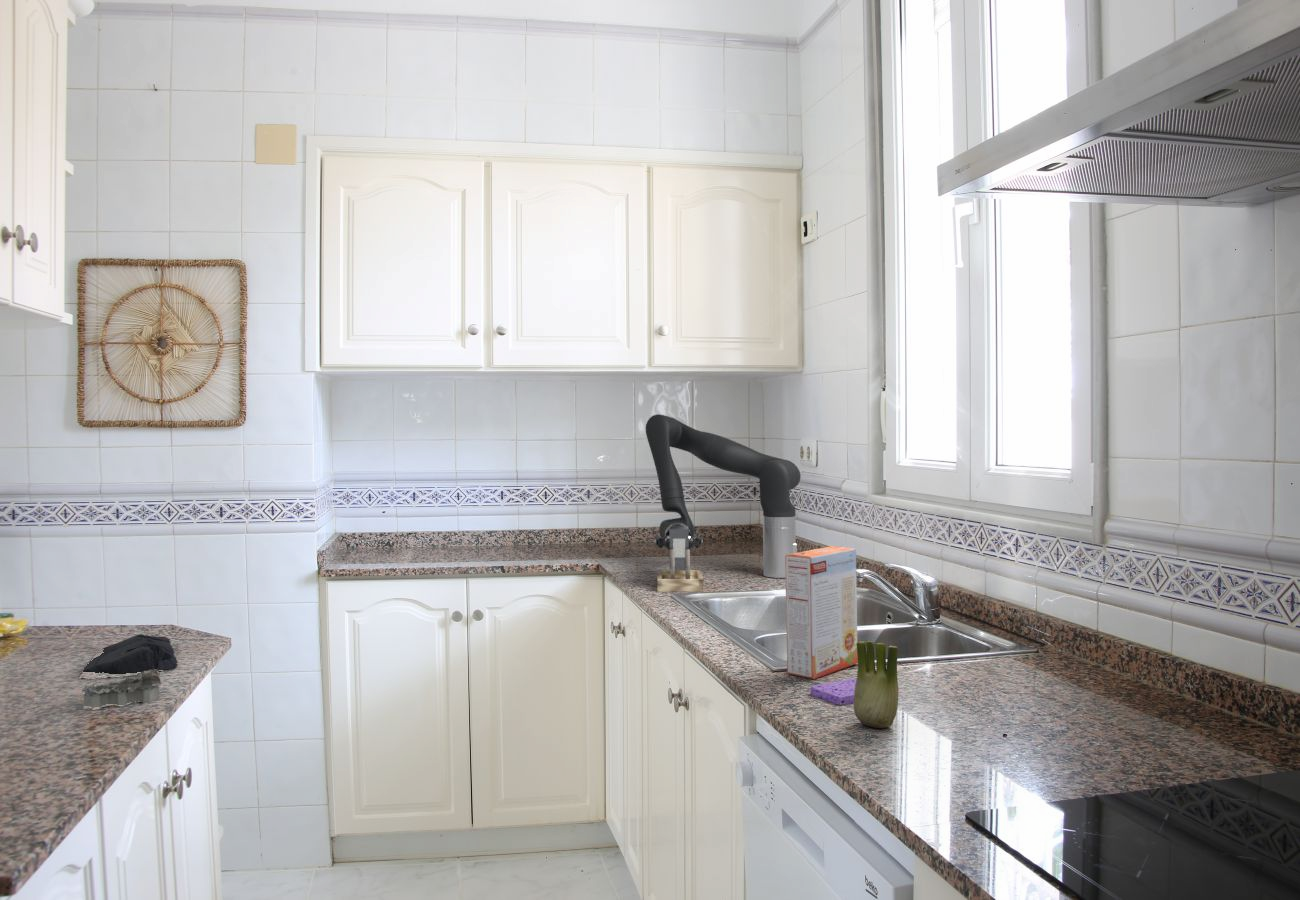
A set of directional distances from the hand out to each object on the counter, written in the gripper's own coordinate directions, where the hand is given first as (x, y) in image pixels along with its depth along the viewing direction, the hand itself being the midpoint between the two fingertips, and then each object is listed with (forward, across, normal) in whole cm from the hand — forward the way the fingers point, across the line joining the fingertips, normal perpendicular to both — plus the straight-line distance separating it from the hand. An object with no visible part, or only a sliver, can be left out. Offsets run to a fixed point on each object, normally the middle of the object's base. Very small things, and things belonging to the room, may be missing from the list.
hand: (679, 545), depth 238 cm
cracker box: (+82, +23, +10) cm, 86 cm away
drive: (-3, 0, +6) cm, 7 cm away
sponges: (+96, +26, +11) cm, 100 cm away
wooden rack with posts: (-2, 0, +11) cm, 12 cm away
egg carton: (+99, -90, +11) cm, 134 cm away
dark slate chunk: (+75, -102, +12) cm, 127 cm away
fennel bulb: (+112, +25, +10) cm, 115 cm away
